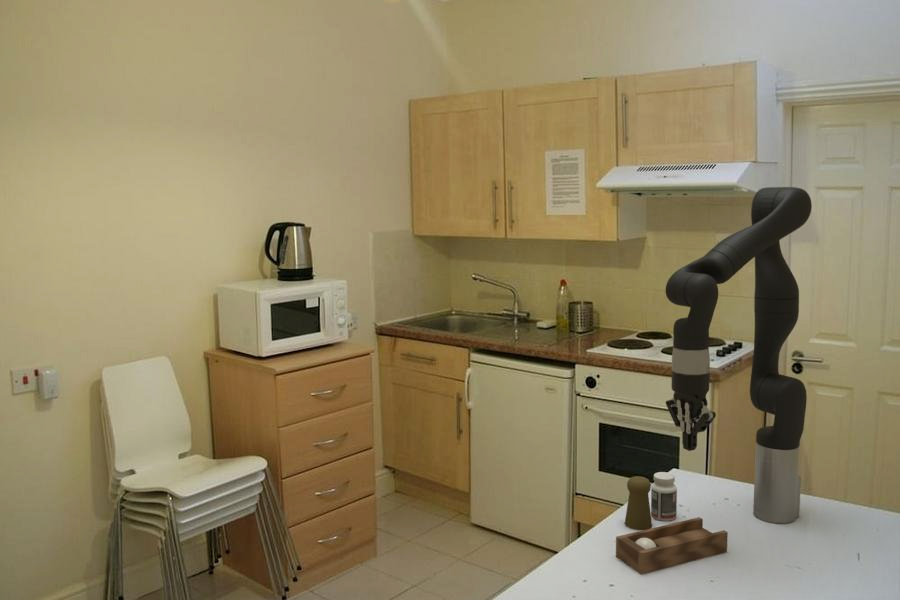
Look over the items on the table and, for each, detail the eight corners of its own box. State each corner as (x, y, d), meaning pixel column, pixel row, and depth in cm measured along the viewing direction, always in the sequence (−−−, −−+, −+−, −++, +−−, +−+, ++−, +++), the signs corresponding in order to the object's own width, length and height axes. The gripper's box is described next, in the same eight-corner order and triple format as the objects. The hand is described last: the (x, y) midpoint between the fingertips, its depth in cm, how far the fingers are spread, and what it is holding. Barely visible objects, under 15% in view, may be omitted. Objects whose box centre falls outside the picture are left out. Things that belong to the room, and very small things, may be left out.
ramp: (698, 536, 172) (699, 517, 171) (727, 552, 164) (727, 532, 164) (615, 556, 163) (616, 536, 163) (641, 574, 156) (641, 553, 155)
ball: (630, 534, 162) (626, 556, 162) (645, 544, 157) (640, 566, 158) (649, 533, 164) (644, 555, 164) (664, 543, 159) (659, 566, 160)
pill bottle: (679, 514, 184) (680, 473, 182) (672, 523, 179) (673, 481, 177) (654, 509, 187) (655, 469, 185) (647, 518, 182) (648, 477, 180)
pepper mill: (652, 531, 175) (653, 483, 173) (624, 529, 176) (625, 482, 175) (651, 520, 181) (652, 474, 179) (624, 518, 182) (625, 472, 181)
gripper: (728, 372, 158) (726, 455, 161) (682, 360, 170) (681, 437, 173) (699, 377, 155) (697, 462, 158) (655, 364, 167) (654, 443, 169)
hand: (689, 449), depth 165 cm, fingers closed
